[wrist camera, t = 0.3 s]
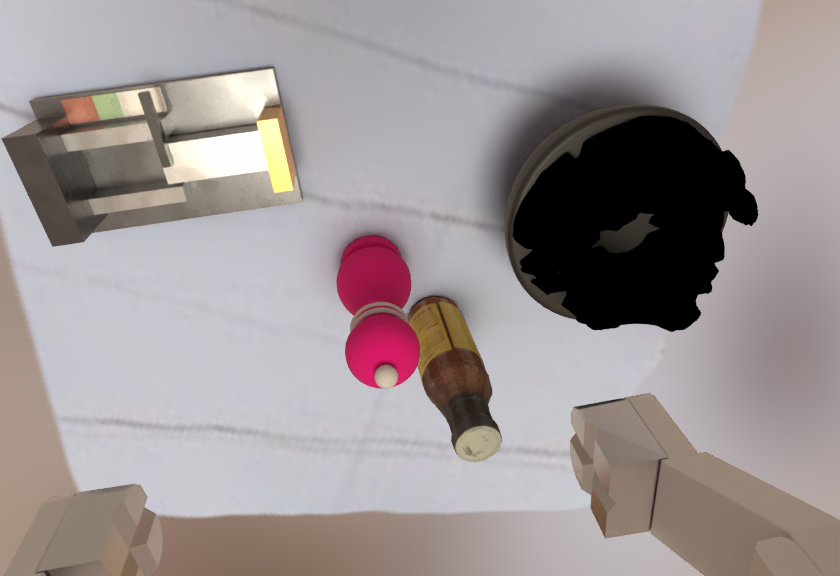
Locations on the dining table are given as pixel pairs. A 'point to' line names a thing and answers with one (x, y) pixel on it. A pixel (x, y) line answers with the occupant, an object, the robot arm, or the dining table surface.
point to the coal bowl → (624, 217)
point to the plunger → (225, 149)
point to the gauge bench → (137, 155)
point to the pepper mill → (377, 313)
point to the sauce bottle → (455, 377)
